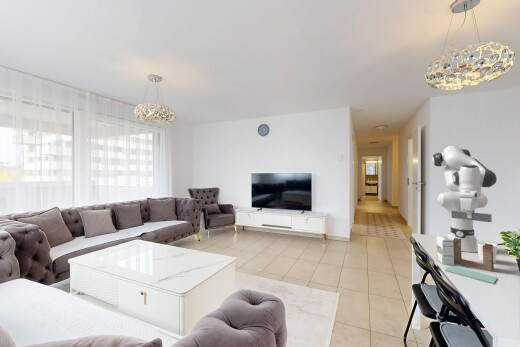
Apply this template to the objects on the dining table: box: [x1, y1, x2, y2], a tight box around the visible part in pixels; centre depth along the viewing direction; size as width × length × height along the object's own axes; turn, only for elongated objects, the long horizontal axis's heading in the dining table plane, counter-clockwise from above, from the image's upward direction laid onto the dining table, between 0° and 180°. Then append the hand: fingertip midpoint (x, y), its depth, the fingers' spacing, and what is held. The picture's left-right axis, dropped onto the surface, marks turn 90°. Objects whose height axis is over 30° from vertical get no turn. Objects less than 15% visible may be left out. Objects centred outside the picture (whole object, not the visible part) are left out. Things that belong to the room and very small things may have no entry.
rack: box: [453, 238, 495, 273], centre depth 122 cm, size 7×16×13 cm, turn 36°
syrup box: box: [436, 236, 455, 266], centre depth 126 cm, size 6×6×14 cm
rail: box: [452, 210, 493, 223], centre depth 122 cm, size 3×16×4 cm, turn 36°
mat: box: [444, 265, 498, 285], centre depth 112 cm, size 9×18×1 cm, turn 36°
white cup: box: [477, 241, 498, 264], centre depth 128 cm, size 8×8×10 cm
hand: (470, 217), depth 123 cm, fingers closed on rail, 3 cm apart
